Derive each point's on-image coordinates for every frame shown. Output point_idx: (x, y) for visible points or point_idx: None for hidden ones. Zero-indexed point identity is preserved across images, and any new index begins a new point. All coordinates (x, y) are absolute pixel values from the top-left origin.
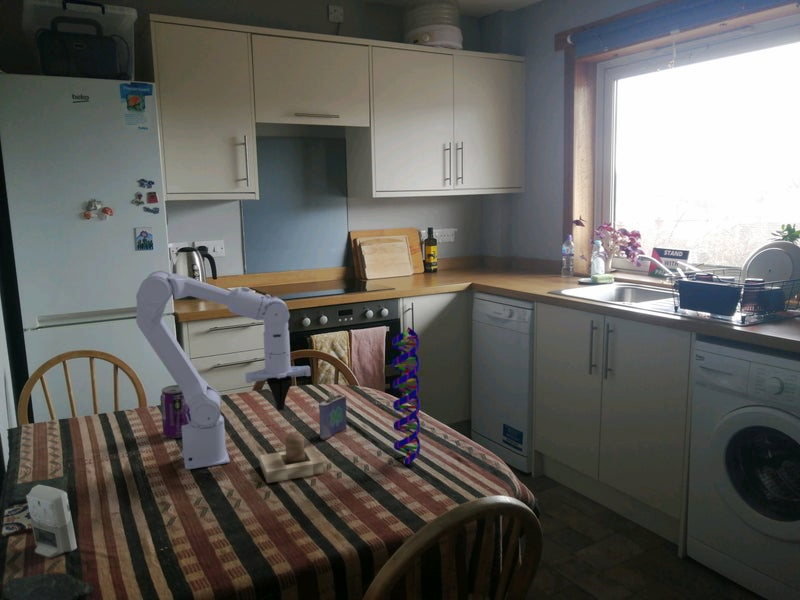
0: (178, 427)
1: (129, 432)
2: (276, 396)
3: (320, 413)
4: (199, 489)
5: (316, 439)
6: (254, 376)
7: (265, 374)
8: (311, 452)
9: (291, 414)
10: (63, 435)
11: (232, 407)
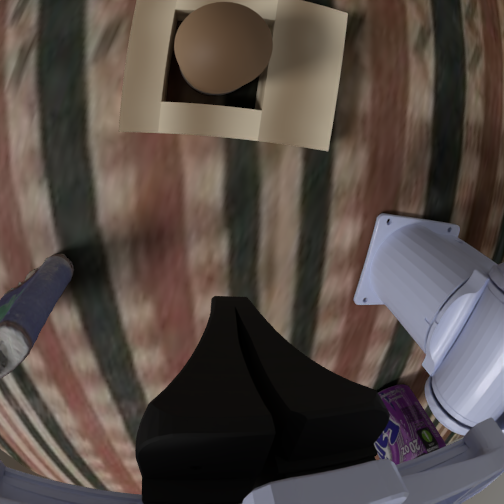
0: (405, 398)
1: (426, 413)
2: (282, 347)
3: (37, 313)
4: (466, 108)
5: (85, 269)
6: (487, 462)
7: (453, 491)
8: (142, 79)
9: (135, 428)
10: None
11: None
